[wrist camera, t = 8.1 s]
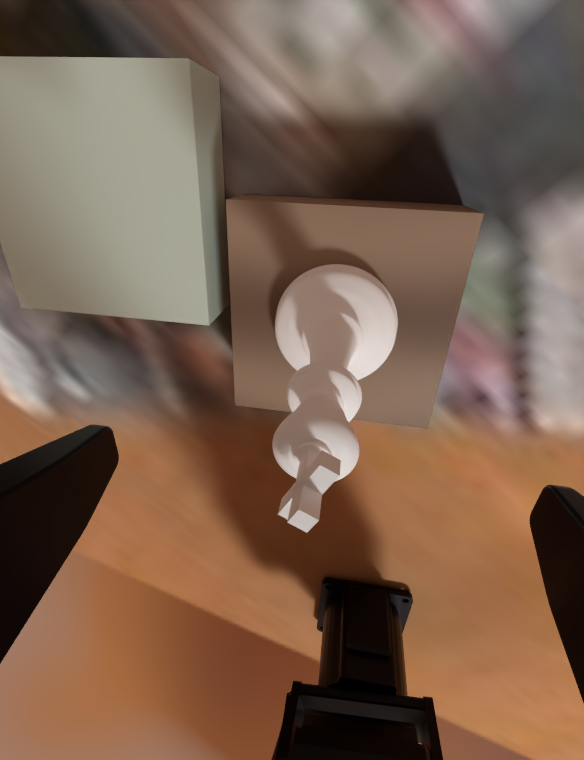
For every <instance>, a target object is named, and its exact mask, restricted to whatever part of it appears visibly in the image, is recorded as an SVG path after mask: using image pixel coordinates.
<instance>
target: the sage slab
mask: <svg viewBox="0 0 584 760" xmlns="http://www.w3.org/2000/svg"><path fill="white" fill-rule="evenodd" d="M0 244H1V247H2V250H3V253H4V256H5V259H6V262H7V265H8V268H9V272H10V275H11V278H12V281H13V284H14V287H15V290H16V293H17V296H18V299H19V302H20V305H21V307H22V308H32V309H43V310H53V311H64V312H74V313H85V314H95V315H105V316H116V317H126V318H137V319H147V320H158V321H168V322H179V323H189V324H200V325H210V324H211V323H212V322H213V321H214V320H215V319H216V318H217V317H218V316H219V315H220V313H221V312H222V311H223V310H224V309H225V308H226V307H227V306H228V305H229V304H230V298H229V276H228V254H227V232H226V210H225V189H224V167H223V145H222V123H221V101H220V79H219V76H217V75H215V74H214V73H212V72H211V71H209V70H207V69H206V68H204V67H202V66H201V65H199V64H198V63H196V62H194V61H193V60H191V59H189V58H110V57H7V56H0Z"/></svg>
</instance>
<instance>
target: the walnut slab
mask: <svg viewBox="0 0 584 760" xmlns="http://www.w3.org/2000/svg"><path fill="white" fill-rule="evenodd" d="M226 214H227V236H228V259H229V281H230V304H231V326H232V348H233V371H234V393H235V405H236V406H244V407H253V408H261V409H269V410H278V411H286V412H292V411H291V409H290V407H289V404H288V400H287V387H288V383H289V381H290V379H291V377H292V376H293V375H294V374H295V373H296V372H297V370H296V369H295V368H293V367H292V366H291V365H290V364H289V362H288V361H287V360H286V359H285V357H284V356H283V354H282V352H281V350H280V348H279V346H278V343H277V339H276V334H275V318H276V312H277V307H278V304H279V301H280V299H281V297H282V295H283V293H284V292H285V290H286V289H287V287H288V286H289V285H290V284H291V283H292V282H293V281H294V280H295V279H296V278H297V277H299V276H300V275H302V274H303V273H305V272H307V271H309V270H311V269H313V268H316V267H319V266H323V265H330V264H343V265H350V266H354V267H357V268H360V269H362V270H364V271H366V272H368V273H370V274H371V275H373V276H374V277H376V278H377V279H378V280H379V281H380V282H381V283H382V284H383V285H384V286H385V287H386V289H387V290H388V291H389V293H390V295H391V297H392V299H393V301H394V303H395V306H396V310H397V317H398V327H397V333H396V339H395V342H394V346H393V348H392V350H391V352H390V354H389V356H388V357H387V359H386V360H385V361H384V363H383V364H382V365H381V366H380V367H379V368H378V369H377V370H375V371H374V372H373V373H371V374H370V375H368V376H366V377H364V378H362V379H360V380H357V381H358V382H359V385H360V387H361V391H362V402H361V405H360V408H359V410H358V412H357V413H356V415H355V416H354V417H353V419H352V420H361V421H369V422H377V423H386V424H394V425H402V426H410V427H419V428H427V429H428V425H429V421H430V417H431V414H432V410H433V406H434V402H435V398H436V394H437V391H438V387H439V383H440V379H441V375H442V372H443V368H444V364H445V360H446V356H447V353H448V349H449V345H450V341H451V337H452V334H453V330H454V326H455V322H456V318H457V314H458V311H459V307H460V303H461V299H462V295H463V292H464V288H465V284H466V280H467V276H468V273H469V269H470V265H471V261H472V257H473V253H474V250H475V246H476V242H477V238H478V234H479V231H480V227H481V223H482V219H483V215H484V213H482V212H479V211H477V210H474V209H472V208H469V207H467V206H464V205H450V204H431V203H412V202H393V201H374V200H355V199H336V198H317V197H298V196H279V195H260V194H244V195H241V196H237V197H233V198H229V199H226Z"/></svg>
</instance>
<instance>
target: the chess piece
mask: <svg viewBox="0 0 584 760" xmlns="http://www.w3.org/2000/svg"><path fill="white" fill-rule="evenodd" d="M397 327H398V317H397V310H396V306H395V303H394V301H393V299H392V297H391V295H390V293H389V291H388V290H387V289H386V287H385V286H384V285H383V284H382V283H381V282H380V281H379V280H378V279H377V278H376V277H374V276H373V275H371V274H370V273H368V272H366V271H364V270H362V269H360V268H357V267H354V266H350V265H343V264H330V265H323V266H319V267H316V268H313V269H311V270H309V271H307V272H305V273H303V274H302V275H300V276H299V277H297V278H296V279H295V280H294V281H293V282H292V283H291V284H290V285H289V286H288V287H287V289H286V290H285V292H284V293H283V295H282V297H281V299H280V301H279V304H278V307H277V312H276V318H275V334H276V339H277V343H278V346H279V348H280V350H281V352H282V354H283V356H284V357H285V359H286V360H287V361H288V362H289V364H290V365H291V366H292V367H293V368H295V369H296V370H297V372H296V373H295V374H294V375H293V376H292V377H291V379H290V381H289V383H288V387H287V400H288V404H289V407H290V409H291V411H292V413H291V414H290V415H288V416H287V417H286V418H285V419H284V420H283V421H282V423H281V424H280V425H279V426H278V428H277V430H276V432H275V434H274V437H273V442H272V449H273V453H274V456H275V459H276V461H277V462H278V464H279V465H280V467H281V468H282V469H283V470H284V471H285V472H286V473H288V474H289V475H291V476H292V477H294V478H296V482H295V483H294V484H293V486H292V487H291V488H290V489H289V490H288V492H287V493H286V494H285V495H284V496H283V498H282V499H281V503H280V507H279V511H278V515H280V516H282V517H284V518H286V519H288V521H287V523H289V524H291V525H293V526H295V527H297V528H299V529H301V530H303V531H304V532H306V533H307V532H308V531H309V530H310V529H311V528H312V527H313V526H314V525H315V524H316V523H317V522H318V521H319V517H320V509H321V501H322V495H323V493H324V492H325V491H326V490H327V489H328V488H329V487H330V486H331V485H332V484H333V483H334V482H335V481H337V480H340V479H342V478H344V477H345V476H346V475H348V474H349V473H350V472H351V471H352V470H353V468H354V467H355V465H356V463H357V461H358V457H359V444H358V440H357V437H356V434H355V432H354V430H353V428H352V426H351V425H350V423H349V421H351V420H352V419H353V417H354V416H355V415H356V413H357V412H358V410H359V408H360V405H361V402H362V391H361V387H360V385H359V382H358V381H357V380H360V379H362V378H364V377H366V376H368V375H370V374H371V373H373V372H374V371H375V370H377V369H378V368H379V367H380V366H381V365H382V364H383V363H384V361H385V360H386V359H387V357H388V356H389V354H390V352H391V350H392V348H393V346H394V342H395V339H396V333H397Z"/></svg>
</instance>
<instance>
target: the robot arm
mask: <svg viewBox="0 0 584 760" xmlns="http://www.w3.org/2000/svg"><path fill="white" fill-rule="evenodd" d="M118 460H119V455H118V450H117V446H116V442H115V438H114V434H113V431H112V429H111V428H110V427H108V426H101V425H89V426H87V427H84V428H82V429H80V430H77V431H75V432H73V433H71V434H68V435H66V436H64V437H61V438H59V439H57V440H55V441H52V442H50V443H48V444H45V445H43V446H41V447H39V448H36V449H34V450H32V451H29V452H27V453H25V454H23V455H20V456H18V457H16V458H13V459H11V460H9V461H7V462H4V463H2V464H0V663H1V662H2V660H3V658H4V657H5V655H6V654H7V652H8V650H9V649H10V647H11V646H12V644H13V643H14V641H15V639H16V638H17V636H18V635H19V633H20V631H21V630H22V628H23V627H24V625H25V624H26V622H27V620H28V619H29V617H30V615H31V614H32V612H33V611H34V609H35V608H36V606H37V605H38V603H39V601H40V600H41V598H42V597H43V595H44V593H45V592H46V590H47V589H48V587H49V586H50V584H51V582H52V581H53V579H54V578H55V576H56V574H57V573H58V571H59V570H60V568H61V567H62V565H63V563H64V562H65V560H66V559H67V557H68V555H69V554H70V552H71V551H72V549H73V547H74V546H75V544H76V543H77V541H78V540H79V538H80V536H81V535H82V533H83V531H84V530H85V528H86V526H87V524H88V522H89V521H90V519H91V517H92V515H93V513H94V511H95V509H96V507H97V505H98V503H99V501H100V499H101V497H102V495H103V493H104V491H105V489H106V487H107V485H108V483H109V481H110V479H111V477H112V475H113V473H114V471H115V469H116V467H117V464H118ZM530 527H531V532H532V536H533V540H534V544H535V548H536V553H537V557H538V561H539V565H540V569H541V574H542V578H543V582H544V586H545V590H546V594H547V598H548V602H549V605H550V608H551V611H552V614H553V617H554V620H555V623H556V626H557V629H558V631H559V634H560V637H561V640H562V643H563V646H564V649H565V651H566V654H567V657H568V660H569V663H570V666H571V668H572V671H573V674H574V677H575V680H576V683H577V685H578V688H579V691H580V694H581V697H582V700H583V702H584V496H582V495H581V494H580V493H578V492H577V491H575V490H574V489H572V488H570V487H564V486H557V485H547V486H546V487H544V488H543V490H542V492H541V494H540V496H539V498H538V500H537V502H536V504H535V506H534V508H533V510H532V512H531V515H530ZM412 603H413V599H412V594H411V593H409V592H407V591H401V590H395V589H390V588H384V587H378V586H372V585H366V584H360V583H354V582H348V581H343V580H337V579H331V578H326V579H324V580H323V582H322V590H321V598H320V606H319V614H318V622H317V629H318V630H319V631H321V632H323V634H322V646H321V658H320V669H319V681H318V685H312V684H304V683H302V682H301V681H293V685H292V690H291V692H289V693H287V696H286V704H285V711H284V717H283V723H282V727H281V731H280V734H279V737H278V740H277V743H276V747H275V750H274V753H273V757H272V760H443V757H442V751H441V745H440V739H439V733H438V728H437V722H436V716H435V710H434V704H433V699H432V697H424V696H423V698H417V697H409V696H407V685H406V674H405V662H404V650H403V639H402V633H403V630H404V627H405V624H406V621H407V618H408V615H409V612H410V609H411V606H412ZM418 742H419V743H422V744H418Z"/></svg>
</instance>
